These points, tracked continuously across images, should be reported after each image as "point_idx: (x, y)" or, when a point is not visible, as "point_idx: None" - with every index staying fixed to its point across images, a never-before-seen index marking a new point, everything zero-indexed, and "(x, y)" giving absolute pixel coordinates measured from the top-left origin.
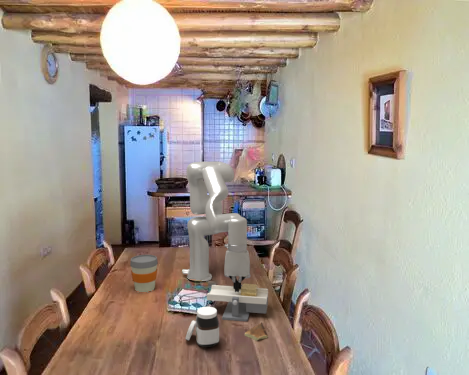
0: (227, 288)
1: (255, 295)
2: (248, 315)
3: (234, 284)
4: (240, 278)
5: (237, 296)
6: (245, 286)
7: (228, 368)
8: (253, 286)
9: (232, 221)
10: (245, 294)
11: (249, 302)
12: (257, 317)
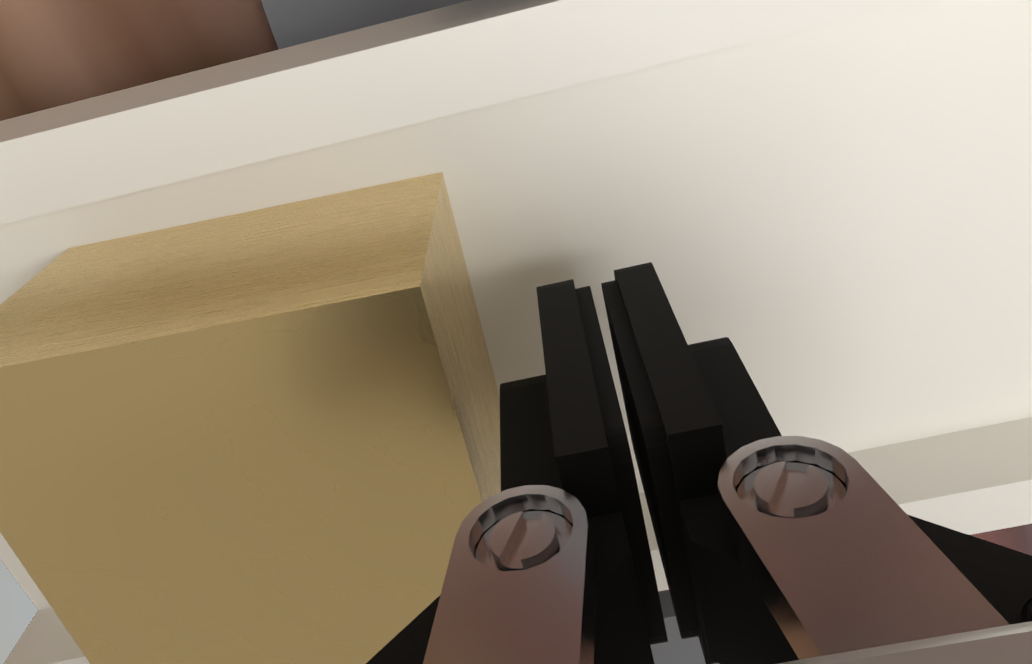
0: (916, 470)
1: (16, 293)
2: (273, 27)
3: (730, 420)
4: (485, 658)
5: (468, 22)
6: (352, 488)
7: None
8: (131, 570)
9: None
10: (293, 235)
11: (158, 80)
12: (141, 84)
